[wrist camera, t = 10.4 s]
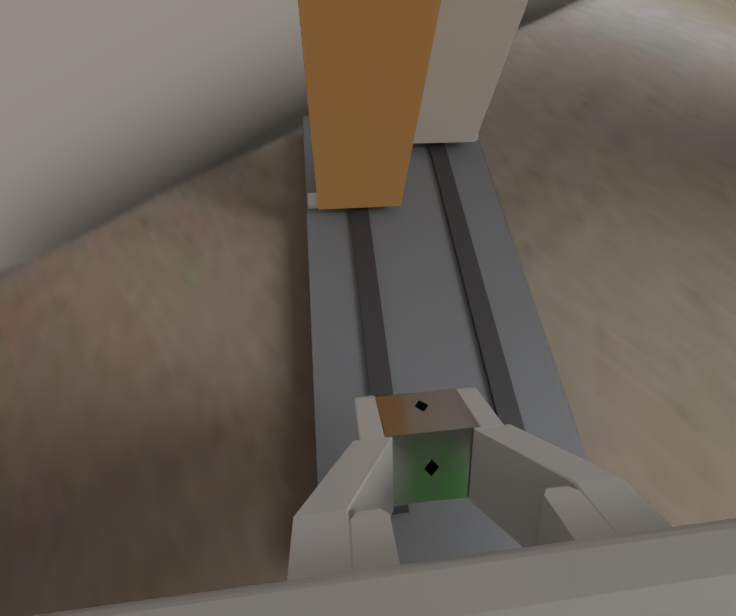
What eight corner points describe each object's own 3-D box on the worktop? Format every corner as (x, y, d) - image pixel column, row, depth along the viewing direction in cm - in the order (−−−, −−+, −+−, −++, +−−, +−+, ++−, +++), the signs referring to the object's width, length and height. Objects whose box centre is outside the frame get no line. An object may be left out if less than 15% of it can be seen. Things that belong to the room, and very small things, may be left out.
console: (304, 134, 22) (302, 112, 21) (463, 130, 23) (470, 109, 22) (323, 570, 13) (320, 579, 11) (592, 533, 14) (618, 537, 12)
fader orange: (316, 172, 18) (287, -135, 9) (394, 170, 19) (440, -128, 10) (318, 209, 17) (288, -96, 8) (400, 205, 18) (459, -90, 9)
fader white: (397, 114, 21) (438, -177, 12) (465, 113, 21) (556, -170, 12) (404, 143, 20) (454, -151, 11) (475, 141, 20) (582, -145, 11)
